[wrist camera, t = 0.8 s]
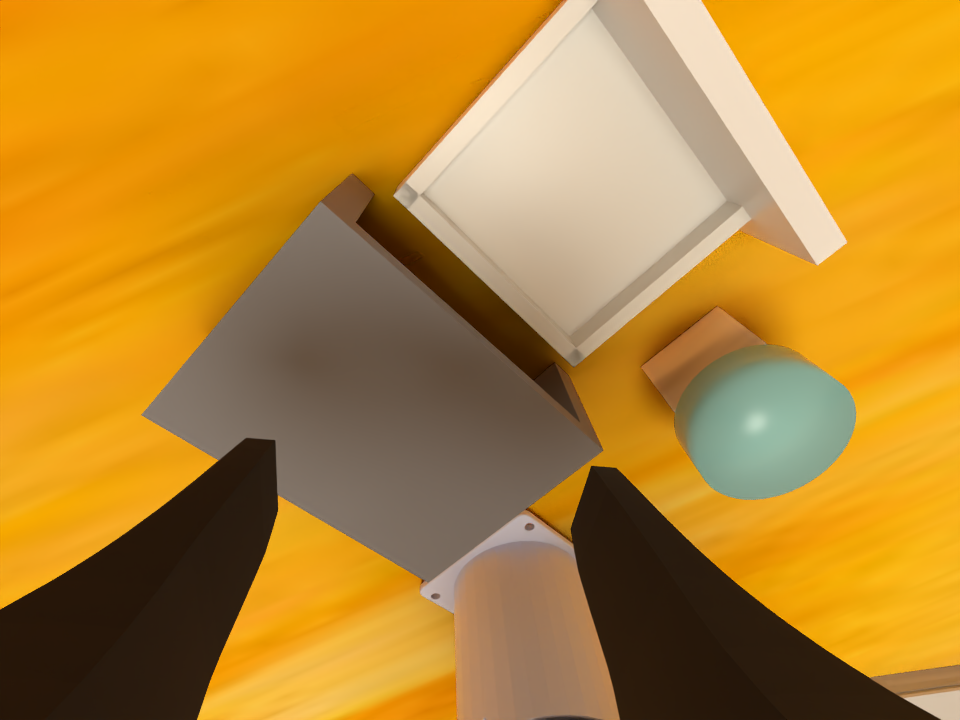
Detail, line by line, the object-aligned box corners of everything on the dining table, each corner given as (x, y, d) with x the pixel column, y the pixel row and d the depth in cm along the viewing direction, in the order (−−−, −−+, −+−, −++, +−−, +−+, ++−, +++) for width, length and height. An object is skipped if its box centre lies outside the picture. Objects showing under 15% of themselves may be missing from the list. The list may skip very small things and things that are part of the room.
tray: (763, 212, 19) (847, 242, 15) (581, 363, 21) (612, 423, 18) (570, -74, 14) (618, -137, 11) (370, 160, 17) (350, 180, 13)
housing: (569, 376, 22) (603, 450, 17) (430, 491, 24) (428, 582, 20) (352, 173, 17) (320, 201, 13) (209, 341, 20) (141, 415, 15)
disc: (841, 405, 19) (881, 436, 18) (721, 485, 21) (746, 521, 19) (773, 315, 17) (811, 340, 15) (645, 412, 19) (667, 444, 17)
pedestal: (763, 363, 22) (815, 406, 19) (689, 417, 23) (727, 466, 20) (717, 306, 21) (765, 342, 18) (640, 367, 22) (673, 411, 19)
